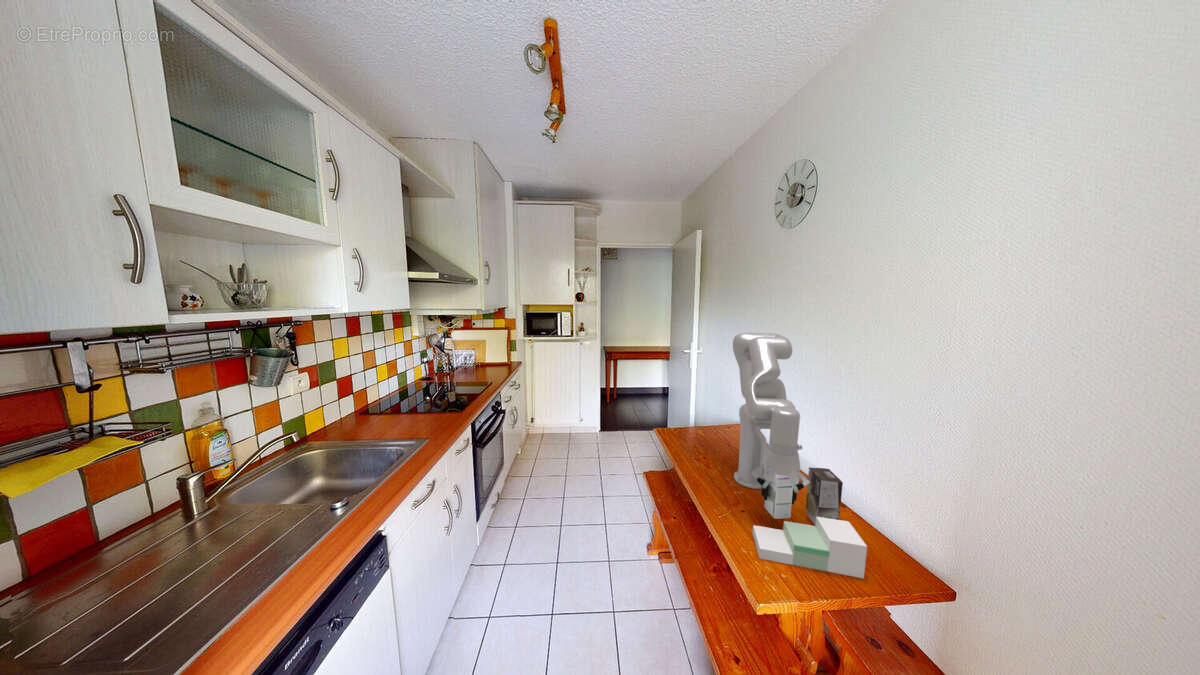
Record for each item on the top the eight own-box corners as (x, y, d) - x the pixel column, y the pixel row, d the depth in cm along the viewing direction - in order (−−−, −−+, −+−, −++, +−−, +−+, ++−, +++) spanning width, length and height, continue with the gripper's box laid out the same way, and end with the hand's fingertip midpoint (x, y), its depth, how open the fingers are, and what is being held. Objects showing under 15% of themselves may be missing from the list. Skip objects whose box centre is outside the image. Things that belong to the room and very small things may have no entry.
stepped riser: (752, 534, 102) (754, 506, 101) (846, 550, 95) (848, 521, 94) (759, 559, 92) (761, 529, 91) (864, 579, 85) (867, 547, 84)
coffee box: (839, 531, 103) (843, 482, 101) (816, 528, 104) (820, 480, 103) (825, 513, 112) (829, 468, 110) (804, 510, 113) (808, 466, 111)
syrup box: (791, 518, 102) (795, 475, 100) (773, 519, 102) (777, 475, 100) (780, 506, 108) (783, 465, 106) (762, 507, 108) (766, 465, 105)
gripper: (810, 444, 103) (804, 497, 106) (750, 438, 107) (746, 488, 110) (819, 456, 96) (813, 512, 98) (754, 448, 100) (750, 502, 103)
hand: (777, 499), depth 104 cm, fingers closed on syrup box, 7 cm apart
